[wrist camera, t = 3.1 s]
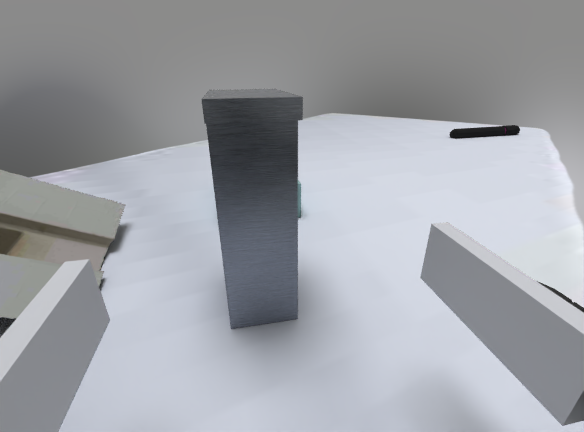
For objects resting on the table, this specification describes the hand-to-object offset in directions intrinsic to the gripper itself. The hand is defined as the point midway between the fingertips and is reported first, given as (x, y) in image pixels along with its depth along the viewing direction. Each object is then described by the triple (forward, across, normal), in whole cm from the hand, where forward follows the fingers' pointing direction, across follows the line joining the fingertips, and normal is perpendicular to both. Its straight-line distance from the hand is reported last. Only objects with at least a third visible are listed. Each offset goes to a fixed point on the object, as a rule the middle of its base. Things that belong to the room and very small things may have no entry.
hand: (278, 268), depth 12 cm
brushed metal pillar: (+8, 0, -8) cm, 12 cm away
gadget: (+59, +63, -8) cm, 87 cm away
